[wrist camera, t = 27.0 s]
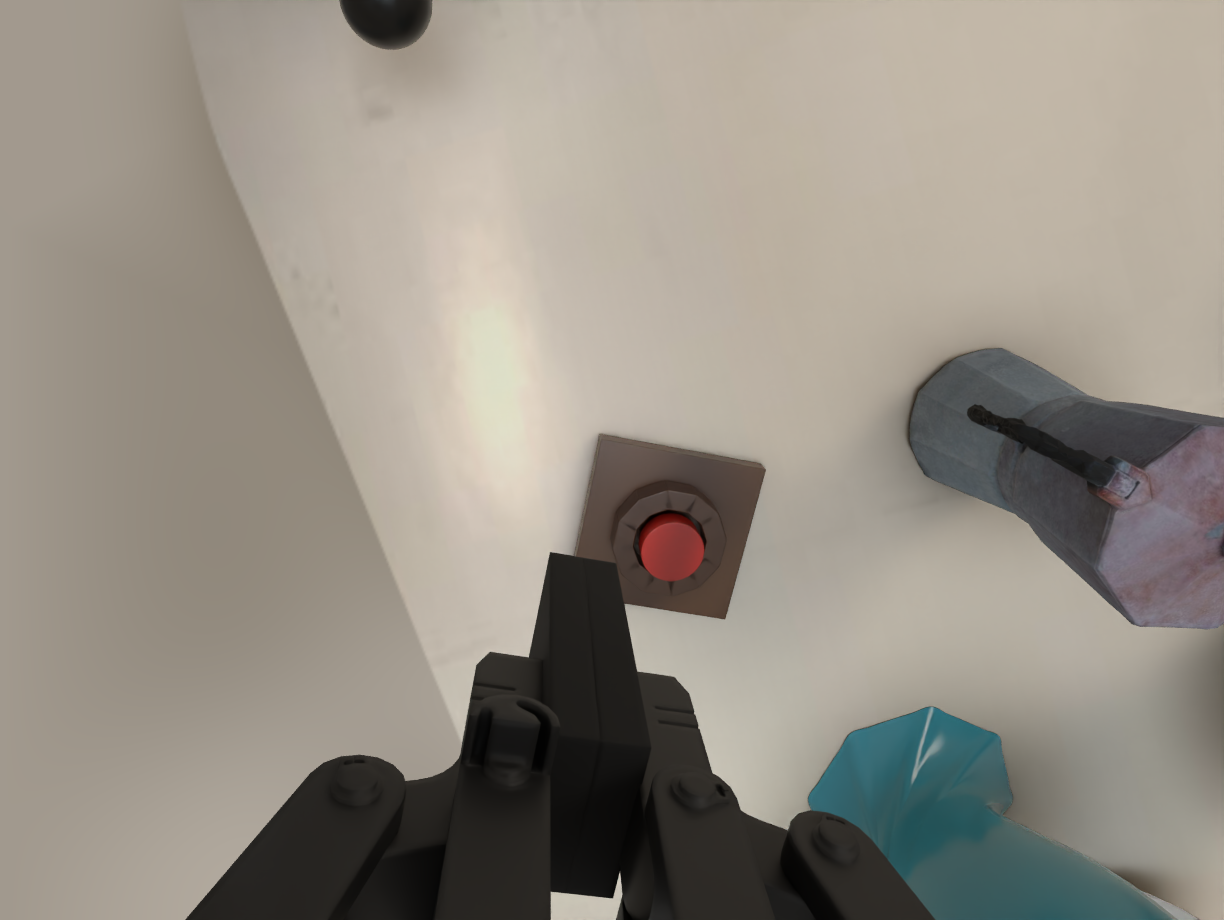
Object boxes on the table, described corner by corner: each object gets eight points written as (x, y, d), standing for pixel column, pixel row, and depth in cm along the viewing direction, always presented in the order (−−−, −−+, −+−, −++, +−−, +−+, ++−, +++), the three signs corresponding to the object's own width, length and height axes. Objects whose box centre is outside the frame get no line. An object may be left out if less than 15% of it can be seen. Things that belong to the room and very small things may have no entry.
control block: (567, 586, 50) (568, 608, 47) (599, 433, 47) (602, 447, 44) (721, 610, 51) (731, 633, 48) (761, 463, 48) (774, 478, 46)
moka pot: (1034, 532, 51) (1323, 716, 32) (824, 445, 48) (1002, 590, 29) (1114, 396, 49) (1477, 507, 30) (898, 297, 46) (1144, 349, 27)
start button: (632, 565, 47) (635, 576, 45) (645, 508, 46) (648, 517, 44) (691, 574, 47) (695, 586, 46) (705, 518, 46) (711, 528, 45)
